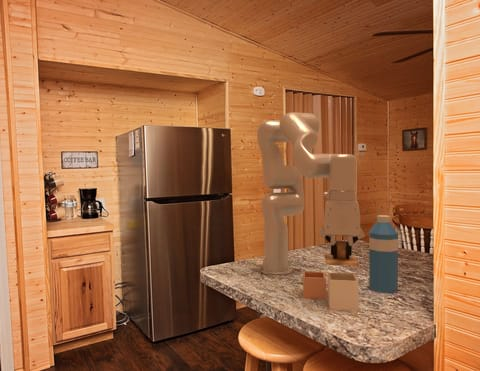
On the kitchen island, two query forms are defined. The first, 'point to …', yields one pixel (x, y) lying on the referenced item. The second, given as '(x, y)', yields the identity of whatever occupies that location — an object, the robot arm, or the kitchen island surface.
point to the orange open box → (314, 285)
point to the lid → (341, 256)
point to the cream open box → (343, 291)
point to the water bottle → (383, 256)
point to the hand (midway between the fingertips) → (341, 257)
